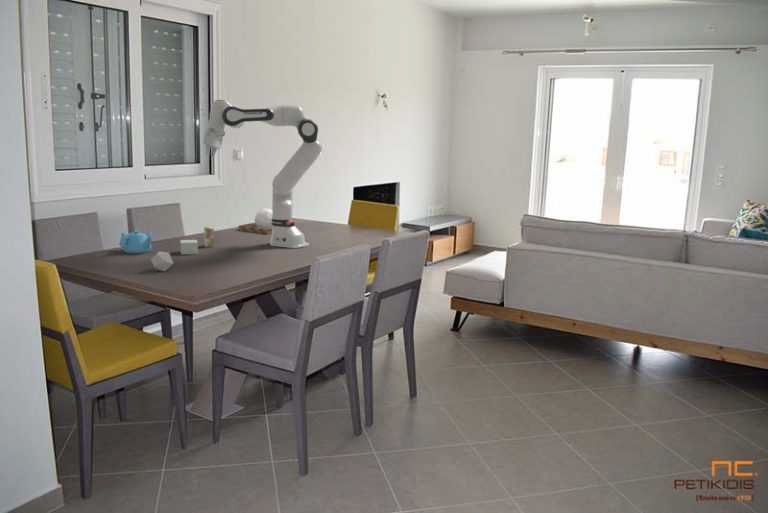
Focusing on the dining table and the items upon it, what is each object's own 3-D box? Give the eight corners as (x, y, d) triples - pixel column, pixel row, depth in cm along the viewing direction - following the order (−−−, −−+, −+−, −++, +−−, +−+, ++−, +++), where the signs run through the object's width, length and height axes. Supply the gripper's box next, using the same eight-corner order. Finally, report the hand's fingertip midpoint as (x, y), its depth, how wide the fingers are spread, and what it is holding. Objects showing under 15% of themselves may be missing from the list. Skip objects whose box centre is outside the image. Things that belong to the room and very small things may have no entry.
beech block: (213, 245, 352) (212, 227, 350) (213, 246, 348) (213, 228, 346) (204, 245, 350) (204, 227, 348) (205, 247, 346) (204, 228, 344)
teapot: (121, 248, 334) (120, 228, 332) (152, 248, 338) (152, 227, 336) (119, 254, 320) (118, 233, 317) (151, 253, 324) (151, 232, 322)
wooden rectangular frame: (293, 229, 411) (293, 225, 410) (268, 234, 391) (268, 229, 390) (263, 225, 423) (263, 221, 422) (238, 230, 402) (238, 225, 402)
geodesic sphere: (252, 218, 413) (254, 202, 403) (275, 217, 418) (277, 202, 407) (254, 235, 404) (256, 219, 394) (277, 234, 408) (279, 219, 398)
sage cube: (196, 251, 335) (196, 239, 334) (198, 254, 328) (197, 242, 327) (180, 251, 333) (180, 240, 331) (181, 254, 325) (181, 243, 324)
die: (177, 271, 293) (172, 251, 296) (169, 265, 284) (164, 245, 287) (159, 277, 292) (154, 257, 296) (151, 271, 284) (146, 251, 287)
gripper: (215, 128, 336) (209, 154, 337) (225, 134, 356) (220, 158, 357) (203, 125, 336) (198, 151, 337) (214, 131, 357) (209, 156, 357)
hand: (209, 155), depth 347 cm, fingers open, 8 cm apart
